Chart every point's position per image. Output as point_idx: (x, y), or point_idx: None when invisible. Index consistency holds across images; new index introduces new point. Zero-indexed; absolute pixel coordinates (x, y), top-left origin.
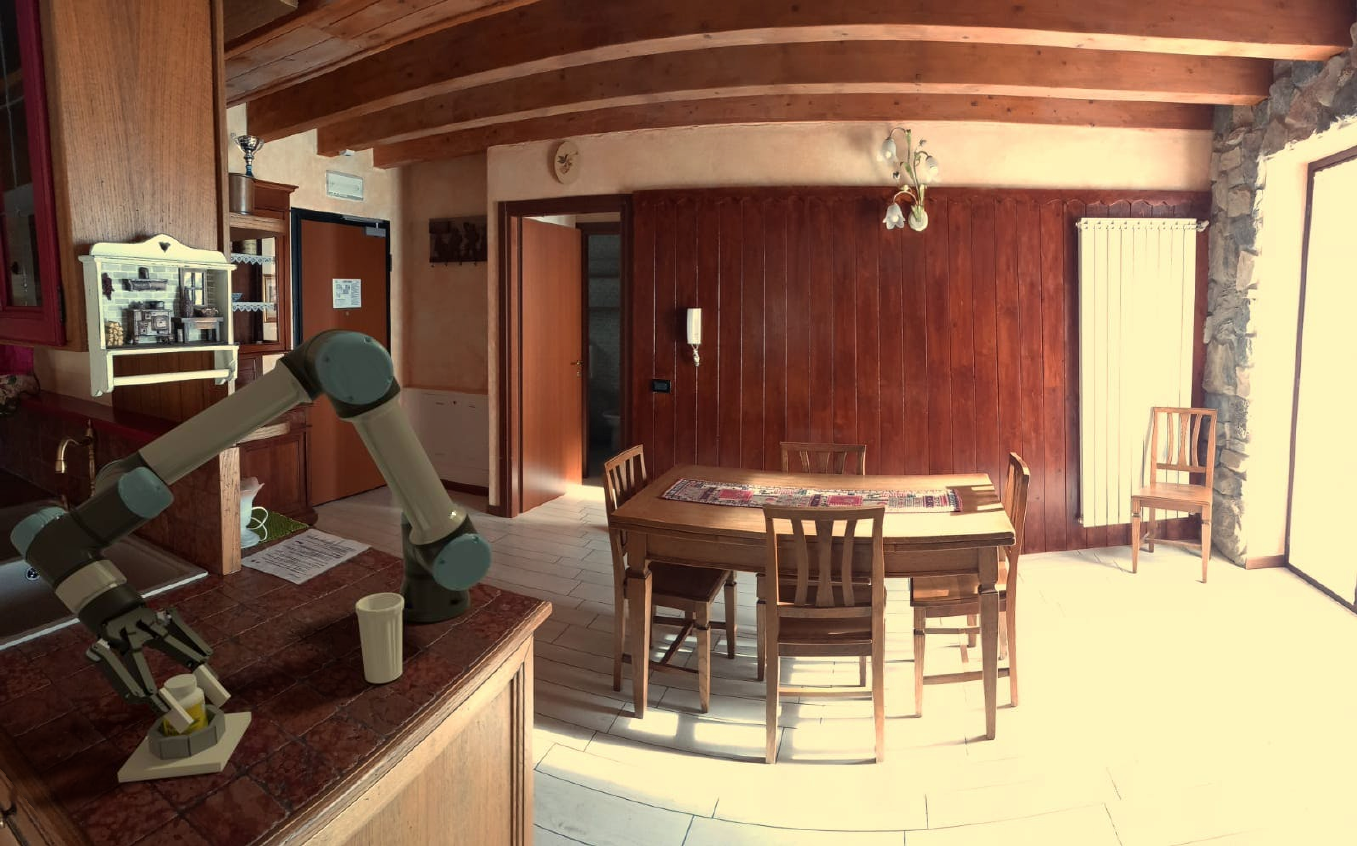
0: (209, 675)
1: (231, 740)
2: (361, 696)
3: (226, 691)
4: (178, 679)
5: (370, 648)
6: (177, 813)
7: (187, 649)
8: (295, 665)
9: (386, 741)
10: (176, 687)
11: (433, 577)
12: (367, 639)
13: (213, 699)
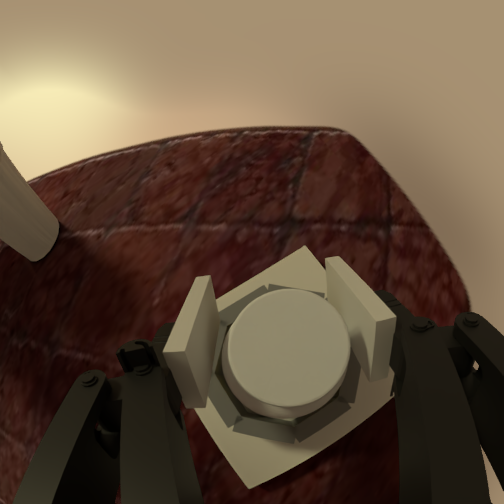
0: (186, 319)
1: (247, 285)
2: (83, 228)
3: (193, 284)
4: (284, 363)
5: (25, 198)
6: (391, 228)
7: (137, 433)
8: (28, 388)
9: (172, 138)
10: (333, 307)
11: None
12: (14, 194)
13: (216, 324)
